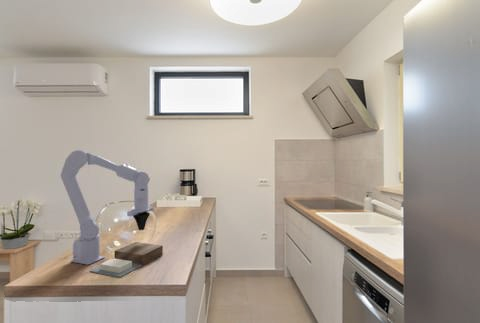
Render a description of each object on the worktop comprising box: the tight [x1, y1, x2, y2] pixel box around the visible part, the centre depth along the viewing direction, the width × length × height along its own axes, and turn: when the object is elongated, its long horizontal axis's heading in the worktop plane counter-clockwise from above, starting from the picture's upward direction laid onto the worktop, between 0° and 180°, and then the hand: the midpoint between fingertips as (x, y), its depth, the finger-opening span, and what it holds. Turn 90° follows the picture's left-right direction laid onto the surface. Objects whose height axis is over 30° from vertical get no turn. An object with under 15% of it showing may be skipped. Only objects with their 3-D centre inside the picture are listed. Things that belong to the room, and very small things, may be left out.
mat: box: [89, 263, 143, 278], centre depth 97 cm, size 14×11×1 cm
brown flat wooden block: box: [113, 241, 164, 267], centre depth 108 cm, size 14×12×4 cm
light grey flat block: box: [99, 257, 132, 273], centre depth 97 cm, size 9×6×2 cm, turn 69°
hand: (141, 229), depth 116 cm, fingers closed
